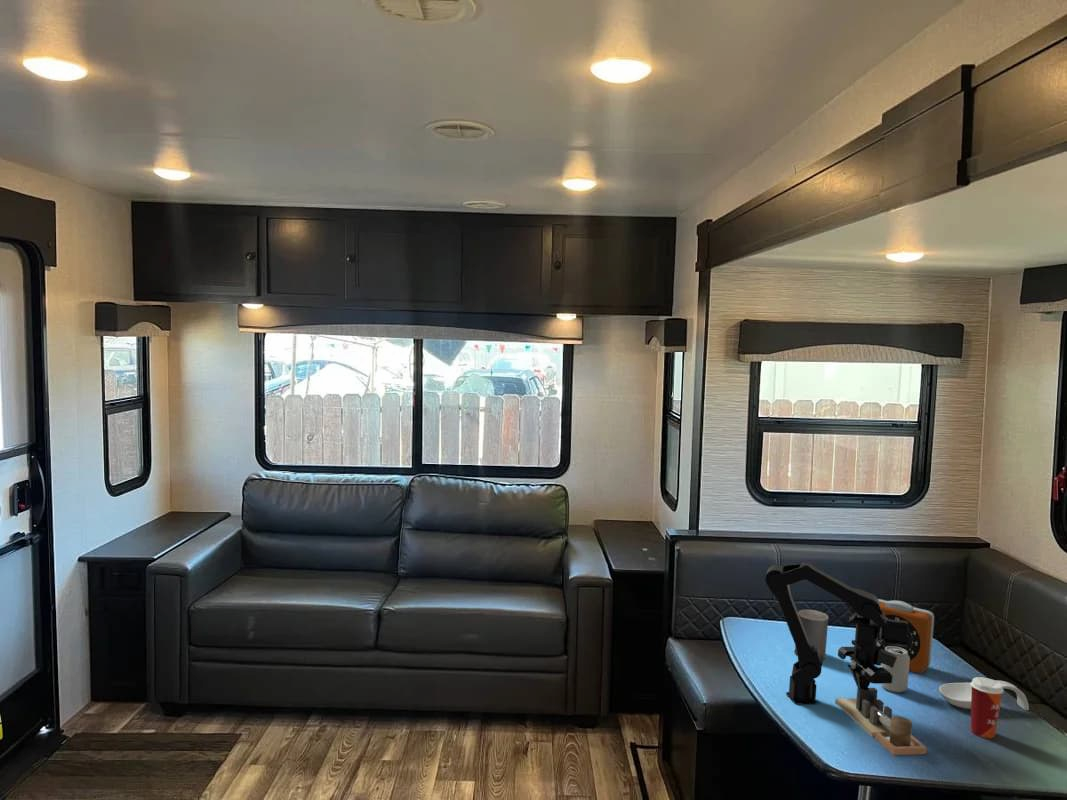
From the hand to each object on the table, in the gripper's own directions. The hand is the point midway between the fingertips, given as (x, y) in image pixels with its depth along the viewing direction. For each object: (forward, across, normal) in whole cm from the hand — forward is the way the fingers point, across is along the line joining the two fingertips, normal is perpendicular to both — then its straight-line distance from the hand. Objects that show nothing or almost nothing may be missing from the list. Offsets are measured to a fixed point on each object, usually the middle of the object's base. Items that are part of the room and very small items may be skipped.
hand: (862, 694), depth 218 cm
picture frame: (+5, -18, 0) cm, 19 cm away
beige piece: (+5, -5, 0) cm, 7 cm away
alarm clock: (+5, +32, -30) cm, 44 cm away
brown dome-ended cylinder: (+4, -18, 0) cm, 19 cm away
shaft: (+3, -8, 0) cm, 9 cm away
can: (+5, +14, -18) cm, 23 cm away
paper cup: (+5, -14, -27) cm, 31 cm away
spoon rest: (+5, +2, -38) cm, 39 cm away
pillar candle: (+5, +38, -4) cm, 39 cm away
